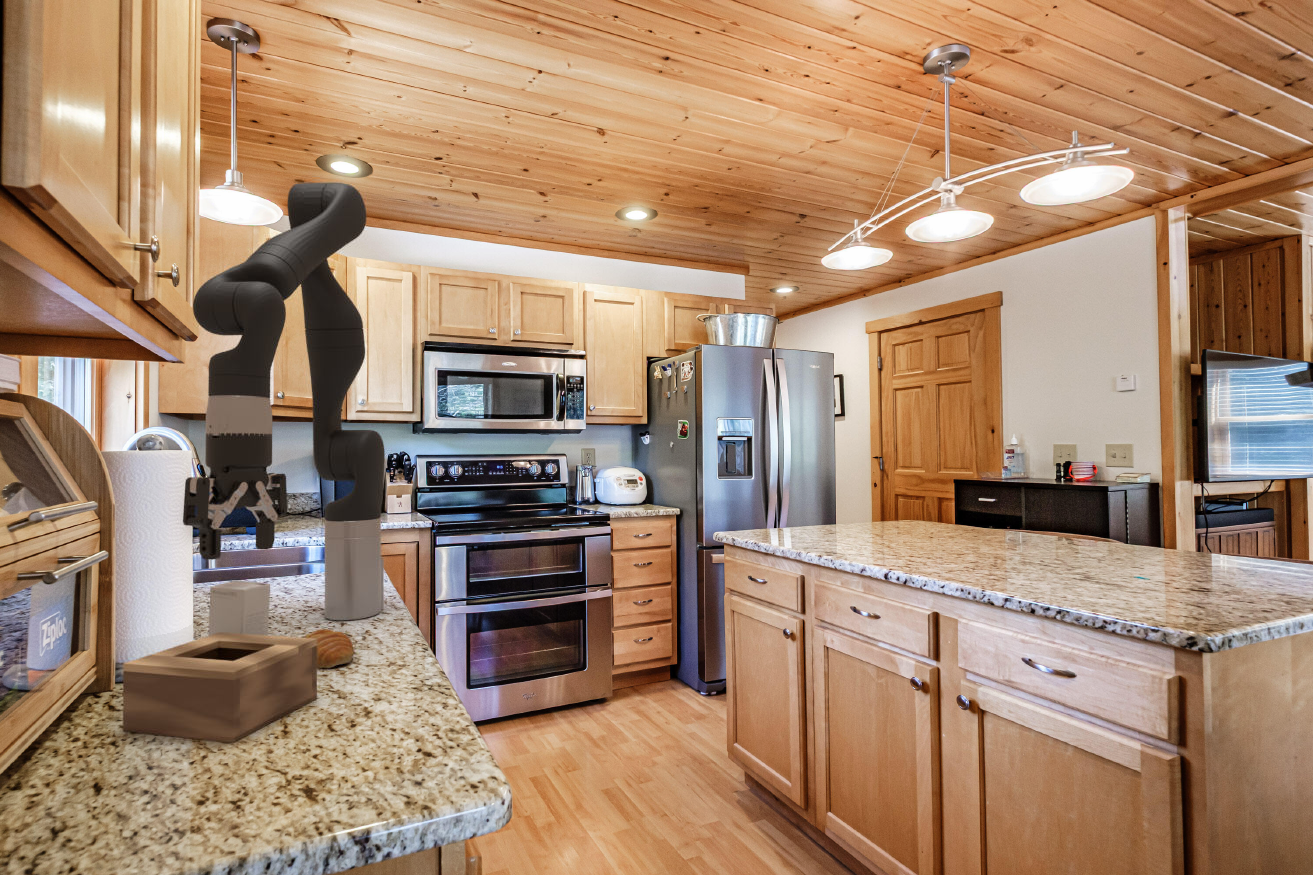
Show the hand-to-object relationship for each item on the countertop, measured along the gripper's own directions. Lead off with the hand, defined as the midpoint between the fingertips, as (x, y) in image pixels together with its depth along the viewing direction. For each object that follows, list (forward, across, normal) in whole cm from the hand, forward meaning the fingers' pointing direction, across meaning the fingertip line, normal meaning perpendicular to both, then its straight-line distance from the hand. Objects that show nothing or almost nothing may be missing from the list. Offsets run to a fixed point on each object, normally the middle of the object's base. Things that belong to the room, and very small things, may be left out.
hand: (238, 553), depth 88 cm
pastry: (+16, -9, +7) cm, 20 cm away
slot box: (+16, +11, +9) cm, 21 cm away
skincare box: (+16, 0, 0) cm, 16 cm away
